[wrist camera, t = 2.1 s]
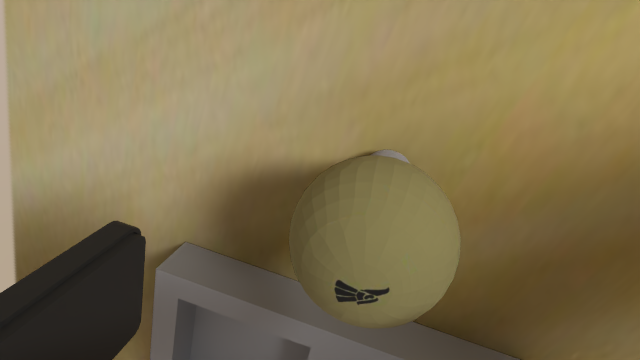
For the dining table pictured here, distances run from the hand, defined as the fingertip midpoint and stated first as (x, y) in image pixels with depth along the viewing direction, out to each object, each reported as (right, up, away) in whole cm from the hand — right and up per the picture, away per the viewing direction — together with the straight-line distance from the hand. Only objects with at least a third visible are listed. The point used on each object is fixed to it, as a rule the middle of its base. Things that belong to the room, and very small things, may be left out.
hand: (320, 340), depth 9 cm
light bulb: (+3, +4, +11) cm, 12 cm away
